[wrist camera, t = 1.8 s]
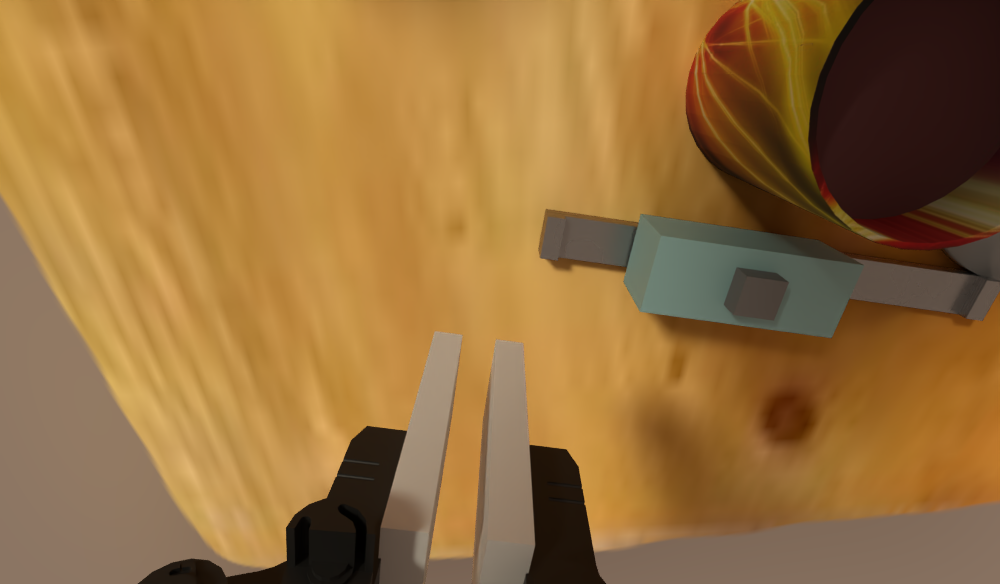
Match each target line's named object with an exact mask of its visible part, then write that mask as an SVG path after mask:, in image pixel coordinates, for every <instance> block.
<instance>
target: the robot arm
mask: <svg viewBox="0 0 1000 584" xmlns="http://www.w3.org/2000/svg"><path fill="white" fill-rule="evenodd" d="M461 343H462V335H459V334H452V333H444V332H437V331H435V333H434V336H433V340H432V344H431V347H430V351H429V354H428V358H427V362H426V365H425V369H424V373H423V376H422V380H421V383H420V387H419V391H418V394H417V398H416V401H415V405H414V409H413V412H412V416H411V419H410V423H409V427H408V430H407V431H403V430H395V429H387V428H379V427H371V426H367V427H366V428H364V429H363V430H362V431H361V432H360V433H359V434H358V435H357V436H356V437H354V438H353V439H352V440H351V442H350V445H349V447H348V449H347V452H346V454H345V456H344V460H343V462H342V464H341V466H340V468H339V471H338V473H337V477H336V478H335V480H334V483H333V485H332V487H331V490H330V492H329V494H328V497H327V499H323V500H320V501H317V502H314V503H311V504H309V505H307V506H306V507H305V508H303V509H302V510H301V511H299V512H298V513H296V514H295V515H294V517H293V518H292V520H291V521H290V523H289V524H288V526H287V527H286V544H287V561H285V562H283V563H281V564H279V565H277V566H275V567H272V568H269V569H265V570H262V571H257V572H252V573H246V574H241V575H235V576H230V577H226V576H225V574H224V572H223V570H222V568H221V567H219V566H217V565H216V564H214V563H212V562H210V561H208V560H199V559H188V560H183V561H178V562H173V563H170V564H168V565H166V566H164V567H162V568H160V569H158V570H156V571H154V572H152V573H151V574H149V575H148V576H147V577H146V578H144V579H143V580H142V581H141V582H139V583H138V584H425V580H426V574H427V568H428V562H429V556H430V550H431V543H432V537H433V531H434V525H435V518H436V512H437V506H438V500H439V493H440V487H441V481H442V475H443V468H444V462H445V456H446V450H447V443H448V437H449V431H450V425H451V418H452V411H453V404H454V396H455V389H456V381H457V373H458V366H459V358H460V350H461ZM584 502H585V501H584V495H583V489H582V484H581V478H580V473H579V467H578V465H577V464H576V463H575V461H574V460H573V458H572V457H571V455H570V454H569V452H568V451H567V450H566V449H559V448H551V447H543V446H535V445H529V432H528V415H527V398H526V381H525V364H524V347H523V343H519V342H511V341H504V340H496V342H495V348H494V355H493V361H492V367H491V373H490V380H489V386H488V392H487V398H486V404H485V411H484V417H483V427H482V441H481V456H480V470H479V484H478V499H477V513H476V528H475V542H474V557H473V571H472V584H606V583H605V582H604V581H603V579H602V578H601V577H600V575H599V573H598V569H597V566H596V562H595V556H594V551H593V545H592V540H591V534H590V528H589V523H588V517H587V512H586V506H585V505H584Z"/></svg>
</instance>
